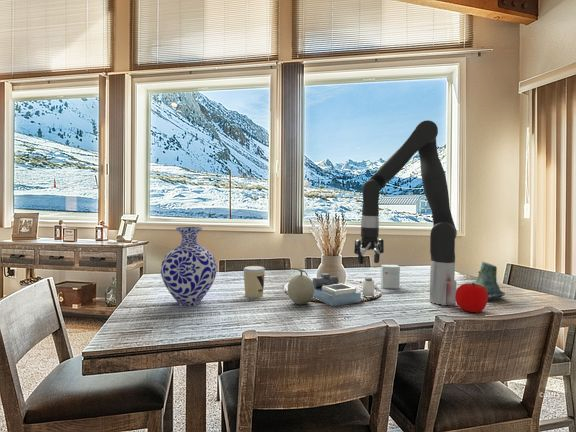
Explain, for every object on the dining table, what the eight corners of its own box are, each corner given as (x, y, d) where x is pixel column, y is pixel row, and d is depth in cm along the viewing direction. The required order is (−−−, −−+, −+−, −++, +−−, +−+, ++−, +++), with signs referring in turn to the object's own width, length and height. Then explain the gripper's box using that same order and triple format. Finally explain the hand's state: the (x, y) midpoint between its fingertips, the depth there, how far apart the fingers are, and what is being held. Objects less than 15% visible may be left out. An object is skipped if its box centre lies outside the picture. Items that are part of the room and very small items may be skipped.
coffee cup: (261, 298, 159) (261, 270, 158) (240, 297, 161) (240, 269, 160) (267, 293, 168) (267, 266, 167) (247, 291, 170) (247, 265, 169)
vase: (159, 312, 138) (159, 230, 137) (162, 297, 159) (162, 226, 157) (218, 308, 144) (219, 229, 142) (214, 294, 164) (214, 225, 163)
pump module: (376, 297, 164) (376, 278, 163) (367, 298, 162) (367, 279, 161) (368, 294, 168) (369, 276, 168) (360, 295, 166) (360, 277, 165)
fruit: (318, 302, 155) (319, 265, 154) (305, 309, 145) (306, 270, 144) (296, 298, 160) (297, 263, 159) (282, 304, 150) (282, 267, 149)
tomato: (469, 316, 138) (470, 286, 137) (447, 307, 149) (448, 279, 148) (495, 314, 141) (497, 284, 141) (472, 305, 152) (473, 278, 152)
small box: (397, 286, 185) (398, 264, 184) (399, 288, 179) (400, 266, 179) (380, 285, 186) (381, 264, 185) (382, 288, 180) (382, 266, 180)
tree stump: (454, 290, 181) (466, 254, 178) (500, 306, 171) (513, 269, 168) (448, 296, 165) (460, 257, 163) (498, 315, 155) (512, 273, 153)
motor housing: (360, 302, 155) (361, 279, 155) (332, 306, 149) (332, 282, 148) (335, 292, 171) (335, 271, 171) (308, 295, 165) (308, 274, 164)
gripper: (362, 227, 157) (361, 266, 158) (388, 226, 163) (387, 263, 164) (351, 225, 163) (350, 263, 164) (376, 225, 170) (375, 261, 171)
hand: (368, 263), depth 164 cm, fingers open, 8 cm apart
